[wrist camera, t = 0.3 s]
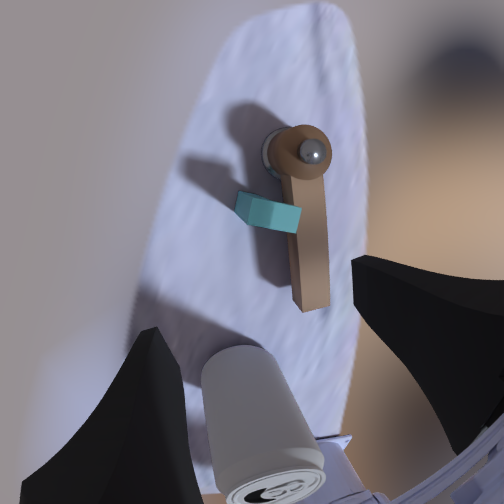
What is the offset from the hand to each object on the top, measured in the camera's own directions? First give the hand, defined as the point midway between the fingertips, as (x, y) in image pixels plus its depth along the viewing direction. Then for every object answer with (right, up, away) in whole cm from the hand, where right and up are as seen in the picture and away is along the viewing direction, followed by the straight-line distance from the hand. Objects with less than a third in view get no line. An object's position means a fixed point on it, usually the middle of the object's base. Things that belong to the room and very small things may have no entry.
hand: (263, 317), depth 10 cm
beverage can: (-2, -8, +13) cm, 15 cm away
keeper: (0, +5, +9) cm, 11 cm away
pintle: (+2, +9, +9) cm, 12 cm away
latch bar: (+3, +5, +9) cm, 11 cm away
